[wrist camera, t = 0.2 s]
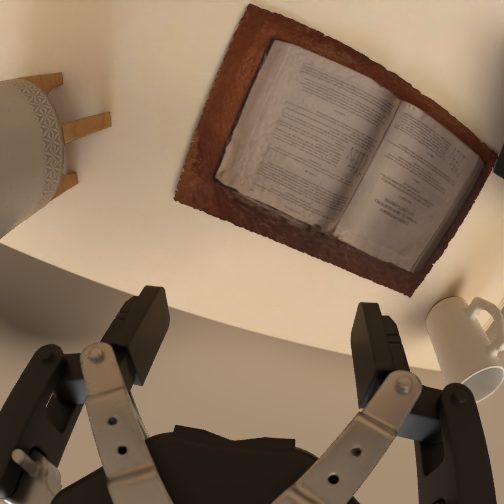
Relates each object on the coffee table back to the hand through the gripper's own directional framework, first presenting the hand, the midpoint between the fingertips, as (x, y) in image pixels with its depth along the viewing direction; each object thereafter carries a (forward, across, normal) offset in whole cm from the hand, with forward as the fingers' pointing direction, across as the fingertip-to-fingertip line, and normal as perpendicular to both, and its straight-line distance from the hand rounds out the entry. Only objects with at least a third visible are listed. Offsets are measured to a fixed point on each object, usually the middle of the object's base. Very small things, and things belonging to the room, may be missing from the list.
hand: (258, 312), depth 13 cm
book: (+19, -6, -2) cm, 20 cm away
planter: (+19, +23, -6) cm, 31 cm away
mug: (+19, -23, +14) cm, 33 cm away
